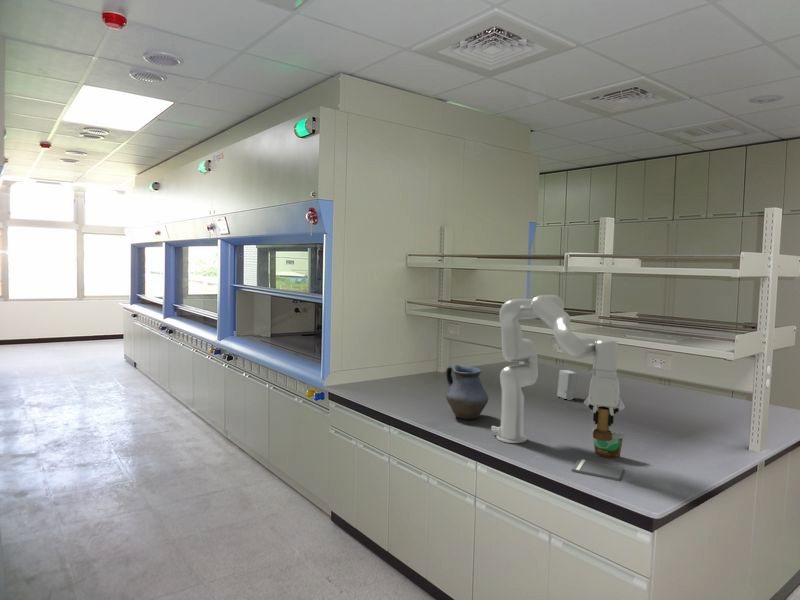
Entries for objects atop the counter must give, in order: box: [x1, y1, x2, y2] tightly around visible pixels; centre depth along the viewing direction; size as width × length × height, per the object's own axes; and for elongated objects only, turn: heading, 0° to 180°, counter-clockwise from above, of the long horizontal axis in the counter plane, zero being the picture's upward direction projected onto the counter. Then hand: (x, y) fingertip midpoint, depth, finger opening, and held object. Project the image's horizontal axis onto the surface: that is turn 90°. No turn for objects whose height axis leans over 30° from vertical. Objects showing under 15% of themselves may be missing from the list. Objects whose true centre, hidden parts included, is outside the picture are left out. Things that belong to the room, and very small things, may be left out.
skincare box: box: [556, 369, 578, 399], centre depth 305 cm, size 8×7×16 cm
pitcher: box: [445, 363, 489, 421], centre depth 262 cm, size 21×22×25 cm
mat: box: [571, 458, 625, 481], centre depth 196 cm, size 16×12×1 cm
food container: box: [591, 427, 626, 459], centre depth 211 cm, size 12×6×10 cm, turn 56°
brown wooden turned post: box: [592, 406, 613, 441], centre depth 194 cm, size 7×6×18 cm
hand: (603, 423), depth 194 cm, fingers closed on brown wooden turned post, 4 cm apart
